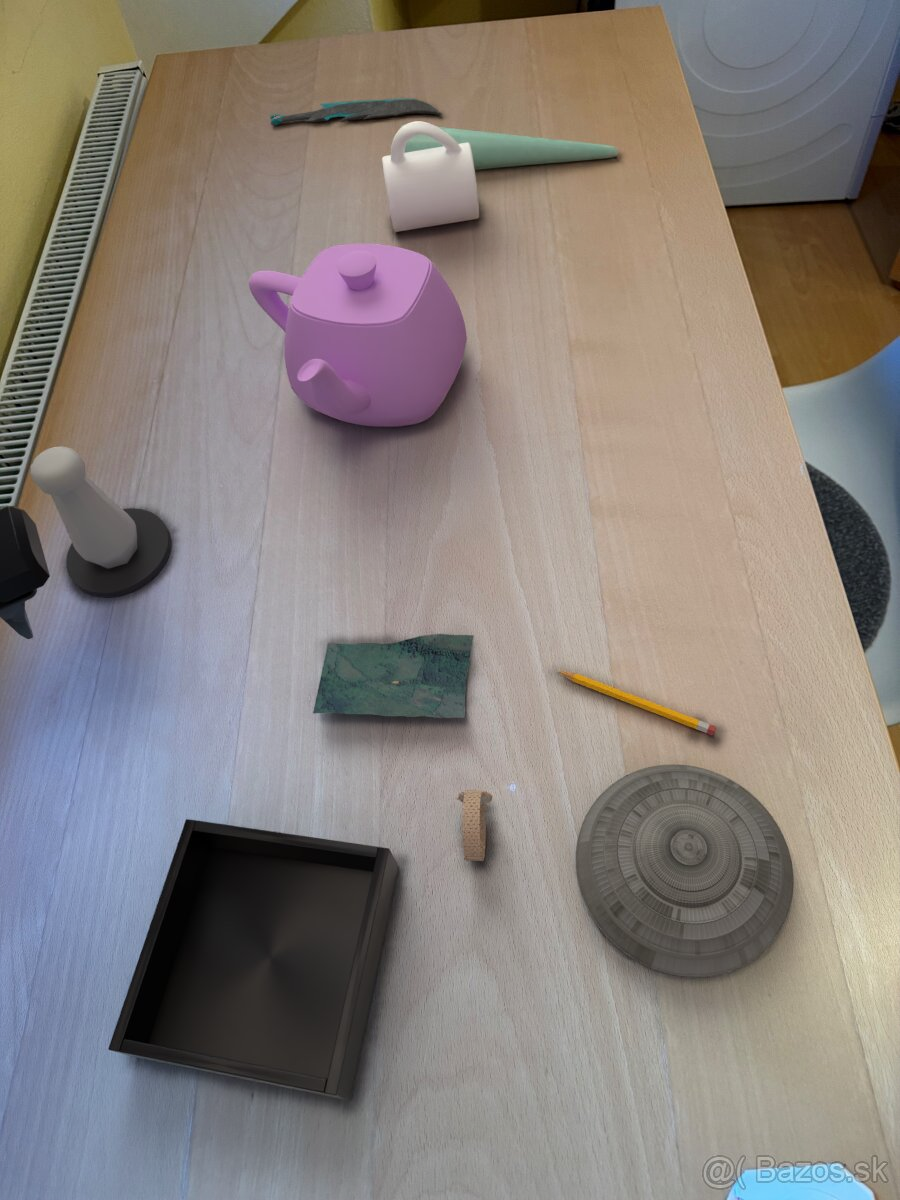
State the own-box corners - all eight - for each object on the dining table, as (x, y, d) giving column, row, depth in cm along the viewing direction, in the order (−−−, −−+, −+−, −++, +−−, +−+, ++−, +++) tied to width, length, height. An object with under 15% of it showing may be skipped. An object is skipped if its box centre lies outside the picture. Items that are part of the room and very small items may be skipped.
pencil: (712, 737, 70) (713, 733, 69) (553, 675, 75) (553, 671, 74) (715, 728, 70) (716, 725, 70) (557, 667, 75) (556, 663, 74)
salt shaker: (76, 551, 87) (5, 461, 76) (126, 516, 88) (64, 423, 78) (105, 586, 84) (36, 498, 73) (156, 550, 86) (96, 458, 75)
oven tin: (135, 1057, 62) (107, 1049, 59) (206, 837, 70) (185, 818, 67) (351, 1101, 59) (336, 1095, 56) (399, 866, 68) (389, 848, 64)
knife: (274, 109, 128) (268, 129, 125) (272, 101, 127) (266, 121, 124) (445, 98, 125) (442, 118, 122) (444, 91, 124) (441, 111, 121)
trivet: (82, 614, 84) (78, 609, 83) (60, 539, 89) (56, 534, 88) (183, 569, 85) (180, 564, 84) (156, 498, 90) (153, 493, 90)
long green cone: (620, 126, 107) (397, 140, 110) (618, 169, 111) (404, 181, 115) (619, 101, 110) (402, 115, 113) (617, 144, 114) (409, 157, 118)
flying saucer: (830, 857, 64) (850, 832, 60) (711, 1031, 59) (723, 1018, 55) (654, 735, 71) (659, 704, 66) (533, 882, 66) (530, 860, 61)
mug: (481, 232, 108) (472, 135, 98) (396, 246, 108) (378, 150, 98) (473, 192, 112) (464, 95, 102) (391, 205, 113) (374, 110, 103)
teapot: (308, 316, 103) (271, 195, 90) (484, 338, 98) (471, 214, 85) (223, 465, 92) (168, 351, 79) (417, 500, 86) (390, 384, 74)
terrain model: (315, 724, 75) (310, 713, 73) (329, 644, 79) (324, 632, 77) (469, 726, 73) (467, 715, 71) (475, 644, 77) (473, 633, 76)
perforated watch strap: (494, 807, 69) (489, 783, 65) (493, 869, 67) (488, 848, 62) (459, 807, 70) (452, 783, 65) (457, 869, 67) (450, 848, 63)
